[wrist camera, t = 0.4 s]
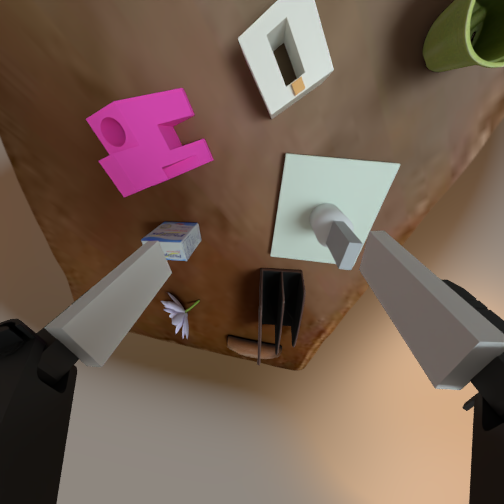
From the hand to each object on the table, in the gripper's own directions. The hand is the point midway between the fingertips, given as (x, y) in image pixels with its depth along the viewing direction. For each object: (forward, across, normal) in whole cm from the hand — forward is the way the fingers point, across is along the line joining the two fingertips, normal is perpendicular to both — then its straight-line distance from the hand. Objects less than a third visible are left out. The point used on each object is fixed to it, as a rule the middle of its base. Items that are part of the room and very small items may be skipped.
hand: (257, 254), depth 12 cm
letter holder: (+25, +1, -30) cm, 40 cm away
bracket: (+26, -16, +7) cm, 31 cm away
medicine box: (+26, -19, -10) cm, 33 cm away
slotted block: (+26, +3, +14) cm, 29 cm away
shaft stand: (+25, +10, -8) cm, 28 cm away
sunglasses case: (+25, -8, -53) cm, 59 cm away
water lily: (+25, -26, -32) cm, 48 cm away
